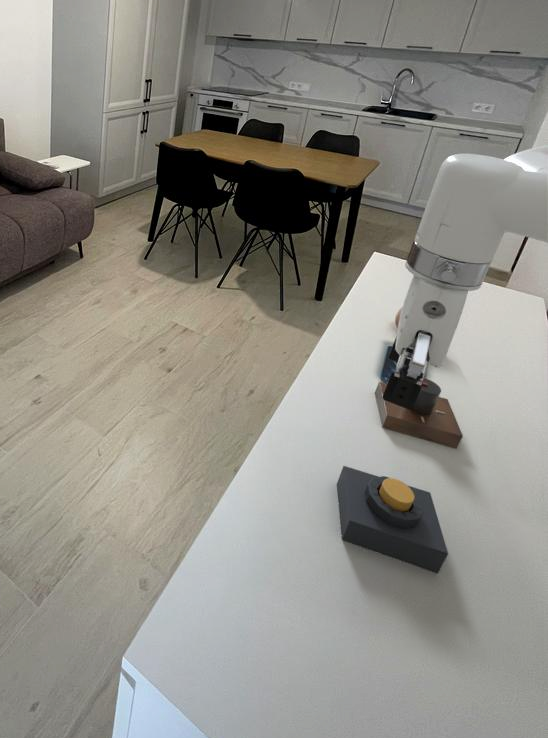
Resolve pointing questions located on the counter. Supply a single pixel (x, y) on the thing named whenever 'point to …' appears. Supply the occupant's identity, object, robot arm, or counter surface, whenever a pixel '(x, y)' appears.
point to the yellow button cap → (396, 494)
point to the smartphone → (388, 366)
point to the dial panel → (420, 420)
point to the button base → (389, 522)
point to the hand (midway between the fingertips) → (399, 381)
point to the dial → (427, 398)
